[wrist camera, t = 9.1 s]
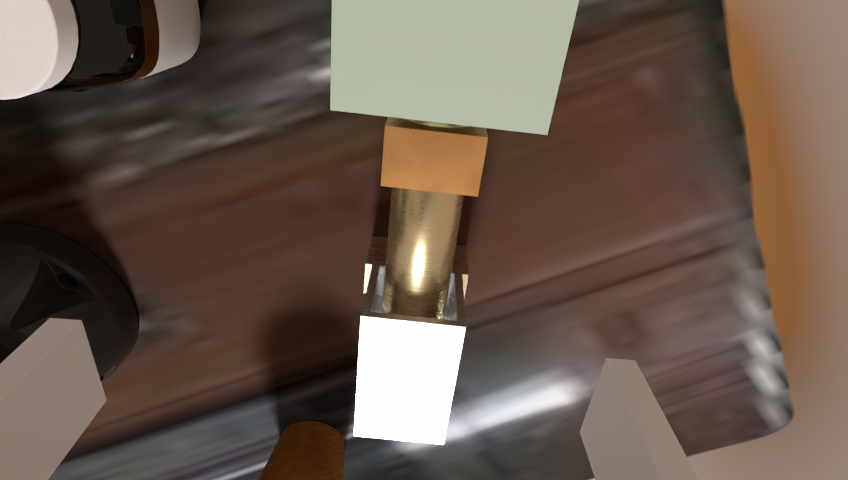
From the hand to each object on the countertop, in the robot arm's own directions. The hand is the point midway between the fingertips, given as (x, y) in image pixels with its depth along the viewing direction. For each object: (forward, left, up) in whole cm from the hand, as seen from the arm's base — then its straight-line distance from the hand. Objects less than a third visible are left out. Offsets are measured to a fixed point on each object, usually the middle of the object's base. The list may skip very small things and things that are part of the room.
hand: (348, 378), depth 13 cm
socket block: (+2, +7, -23) cm, 24 cm away
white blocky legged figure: (+2, -13, -23) cm, 26 cm away
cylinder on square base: (+2, -3, -19) cm, 19 cm away
